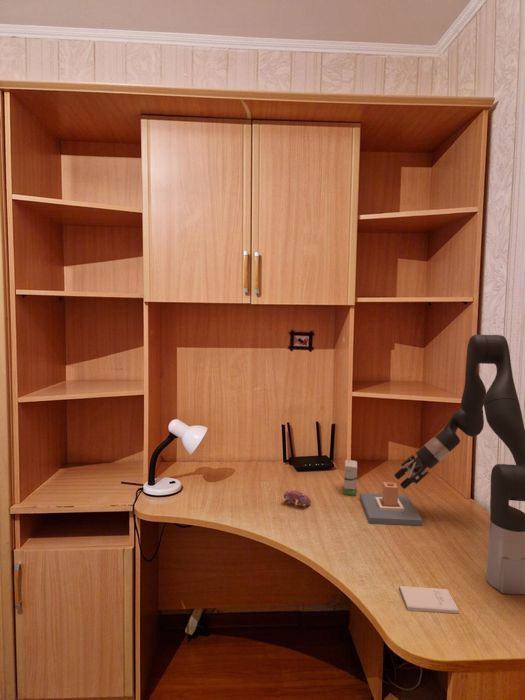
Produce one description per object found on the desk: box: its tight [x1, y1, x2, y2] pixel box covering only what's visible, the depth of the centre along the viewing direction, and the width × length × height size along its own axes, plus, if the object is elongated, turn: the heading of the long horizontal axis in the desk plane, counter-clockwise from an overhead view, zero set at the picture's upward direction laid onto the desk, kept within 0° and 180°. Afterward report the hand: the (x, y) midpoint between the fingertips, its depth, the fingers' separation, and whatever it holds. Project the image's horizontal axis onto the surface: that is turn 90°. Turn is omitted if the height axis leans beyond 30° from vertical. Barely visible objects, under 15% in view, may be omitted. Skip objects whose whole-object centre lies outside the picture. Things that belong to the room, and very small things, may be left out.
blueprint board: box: [359, 492, 423, 527], centre depth 158 cm, size 20×18×3 cm
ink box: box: [343, 459, 358, 497], centre depth 174 cm, size 9×5×12 cm, turn 168°
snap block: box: [381, 481, 399, 507], centre depth 157 cm, size 4×4×9 cm
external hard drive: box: [398, 585, 460, 614], centre depth 110 cm, size 2×8×12 cm
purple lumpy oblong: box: [283, 489, 312, 507], centre depth 161 cm, size 10×5×7 cm, turn 63°
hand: (398, 482), depth 157 cm, fingers open, 8 cm apart
